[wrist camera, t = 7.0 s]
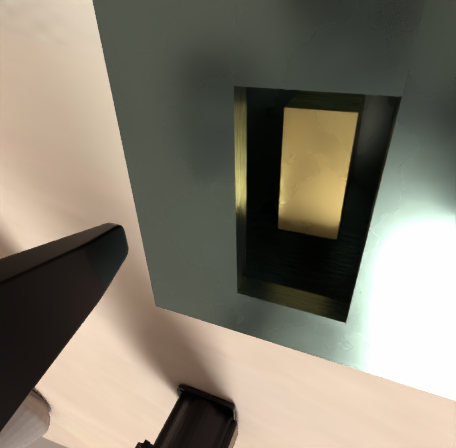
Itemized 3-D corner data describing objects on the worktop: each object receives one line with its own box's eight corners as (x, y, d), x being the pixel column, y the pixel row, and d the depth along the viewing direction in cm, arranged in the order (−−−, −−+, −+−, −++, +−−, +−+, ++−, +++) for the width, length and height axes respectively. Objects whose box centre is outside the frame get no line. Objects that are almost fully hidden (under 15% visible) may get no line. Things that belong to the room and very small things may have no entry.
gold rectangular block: (303, 177, 18) (277, 228, 14) (312, 78, 16) (284, 107, 12) (350, 184, 17) (336, 239, 14) (368, 80, 15) (358, 113, 11)
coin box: (227, 212, 22) (156, 305, 16) (219, -14, 15) (89, -14, 9) (436, 253, 18) (456, 400, 12) (548, -27, 11) (740, -45, 5)
